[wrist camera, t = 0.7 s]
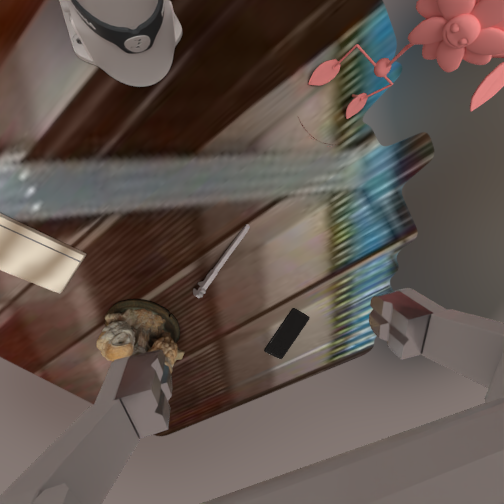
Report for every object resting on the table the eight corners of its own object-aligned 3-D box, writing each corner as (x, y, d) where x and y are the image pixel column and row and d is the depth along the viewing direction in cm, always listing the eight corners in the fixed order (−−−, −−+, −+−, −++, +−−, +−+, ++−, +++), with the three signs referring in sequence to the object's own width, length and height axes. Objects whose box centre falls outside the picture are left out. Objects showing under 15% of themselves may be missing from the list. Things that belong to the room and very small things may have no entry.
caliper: (196, 291, 57) (198, 302, 51) (192, 289, 57) (194, 300, 51) (249, 226, 57) (258, 230, 51) (246, 223, 57) (254, 226, 51)
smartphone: (263, 351, 67) (293, 307, 66) (262, 349, 67) (292, 306, 67) (281, 360, 69) (310, 317, 69) (280, 358, 70) (309, 316, 69)
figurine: (302, 32, 50) (526, -243, 18) (375, 115, 60) (603, 33, 28) (264, 97, 51) (412, -55, 19) (341, 168, 61) (525, 147, 29)
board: (-95, 227, 39) (-105, 228, 38) (-67, 181, 39) (-76, 181, 37) (63, 290, 48) (60, 293, 47) (86, 254, 48) (84, 255, 46)
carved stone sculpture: (194, 319, 58) (201, 367, 43) (168, 358, 59) (166, 419, 43) (122, 287, 51) (98, 331, 36) (93, 332, 52) (58, 394, 36)
